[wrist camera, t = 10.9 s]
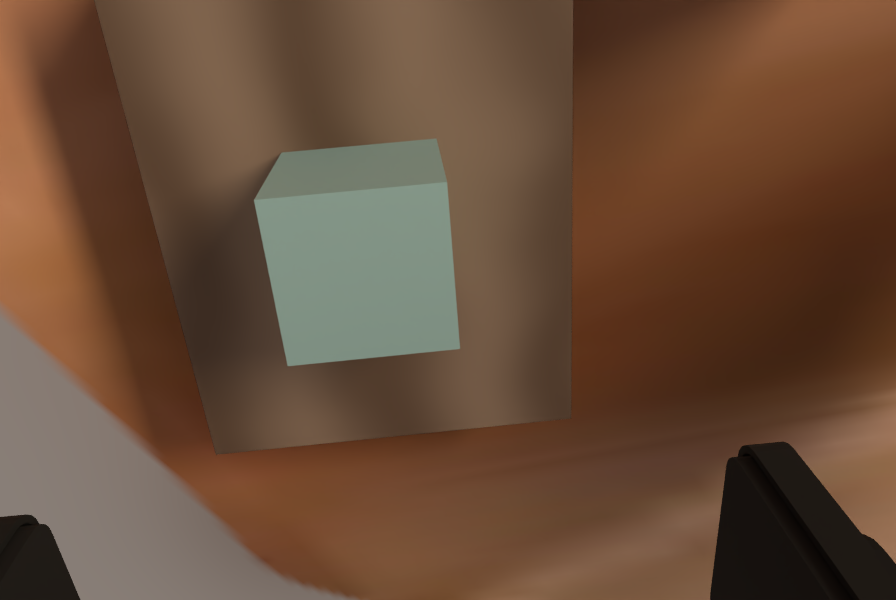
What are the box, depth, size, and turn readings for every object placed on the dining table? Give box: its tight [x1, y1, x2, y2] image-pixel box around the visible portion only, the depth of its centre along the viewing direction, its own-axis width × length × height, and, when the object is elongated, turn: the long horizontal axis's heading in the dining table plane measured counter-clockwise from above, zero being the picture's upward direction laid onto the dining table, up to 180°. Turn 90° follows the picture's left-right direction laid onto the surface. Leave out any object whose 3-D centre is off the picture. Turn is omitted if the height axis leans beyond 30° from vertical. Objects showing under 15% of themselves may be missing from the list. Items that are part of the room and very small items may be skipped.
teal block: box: [254, 139, 460, 366], centre depth 22 cm, size 5×5×5 cm
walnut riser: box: [94, 0, 573, 454], centre depth 26 cm, size 14×18×5 cm
